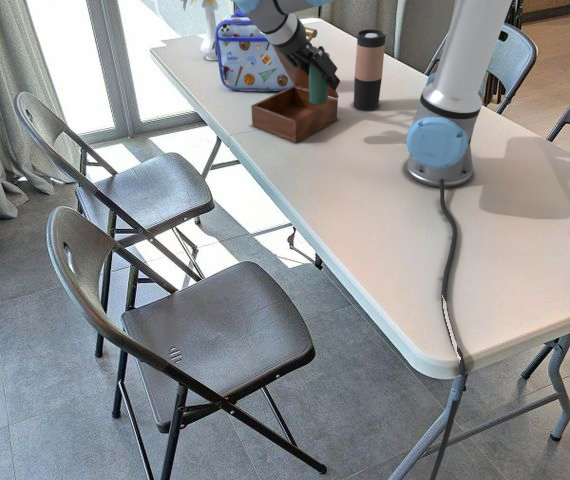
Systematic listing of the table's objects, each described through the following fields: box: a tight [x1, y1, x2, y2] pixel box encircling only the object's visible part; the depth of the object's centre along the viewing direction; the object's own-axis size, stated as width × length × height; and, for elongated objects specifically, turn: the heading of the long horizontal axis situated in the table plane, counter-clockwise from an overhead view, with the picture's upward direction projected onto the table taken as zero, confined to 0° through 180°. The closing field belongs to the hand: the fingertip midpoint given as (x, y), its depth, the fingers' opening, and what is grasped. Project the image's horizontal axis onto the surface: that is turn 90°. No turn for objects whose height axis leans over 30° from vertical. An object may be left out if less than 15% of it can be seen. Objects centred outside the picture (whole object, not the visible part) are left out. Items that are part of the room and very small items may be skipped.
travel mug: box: [353, 28, 386, 112], centre depth 152 cm, size 8×8×20 cm
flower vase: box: [180, 0, 234, 62], centre depth 182 cm, size 13×18×25 cm
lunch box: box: [212, 8, 303, 92], centre depth 163 cm, size 28×10×22 cm, turn 84°
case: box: [250, 85, 339, 144], centre depth 149 cm, size 18×16×6 cm
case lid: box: [271, 26, 340, 99], centre depth 144 cm, size 19×16×7 cm
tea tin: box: [309, 51, 331, 104], centre depth 131 cm, size 5×5×11 cm
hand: (327, 82), depth 135 cm, fingers closed on tea tin, 5 cm apart
